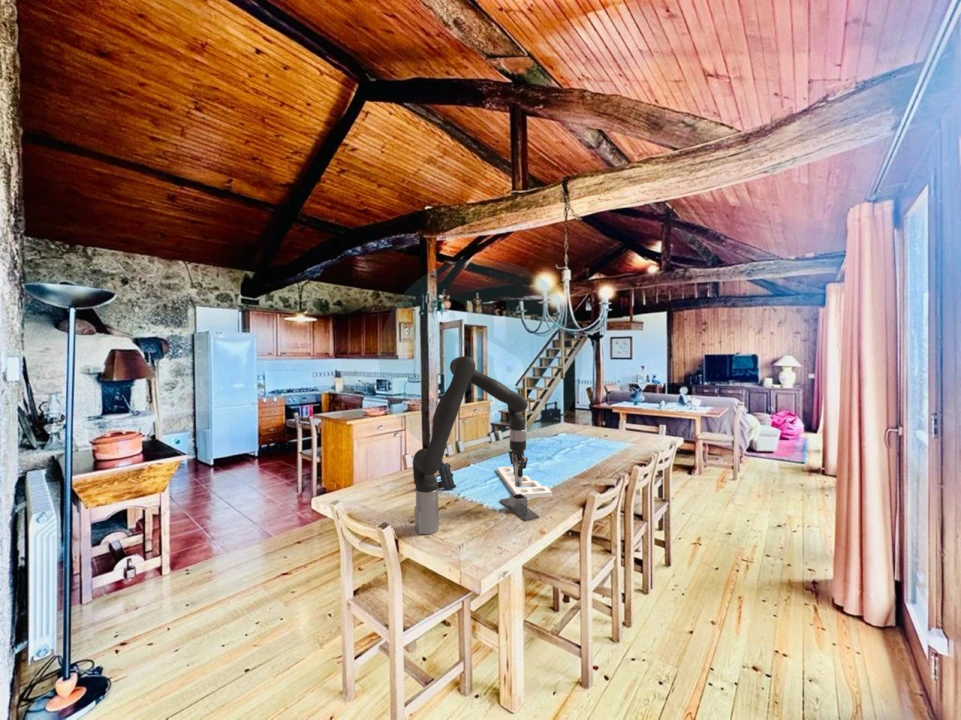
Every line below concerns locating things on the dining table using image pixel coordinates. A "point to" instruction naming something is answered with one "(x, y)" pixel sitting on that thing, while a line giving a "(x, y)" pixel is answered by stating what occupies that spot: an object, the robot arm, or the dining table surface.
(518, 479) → the pin
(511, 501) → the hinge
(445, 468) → the gun
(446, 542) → the dining table surface
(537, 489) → the holder
